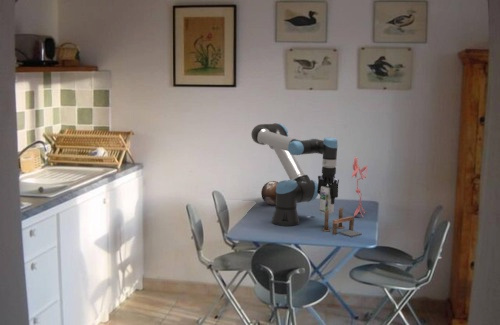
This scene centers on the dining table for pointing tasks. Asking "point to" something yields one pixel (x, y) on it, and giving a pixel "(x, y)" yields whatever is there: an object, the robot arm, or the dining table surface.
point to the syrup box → (325, 199)
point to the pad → (350, 233)
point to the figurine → (356, 168)
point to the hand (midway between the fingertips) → (326, 208)
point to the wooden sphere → (269, 192)
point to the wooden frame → (338, 221)
